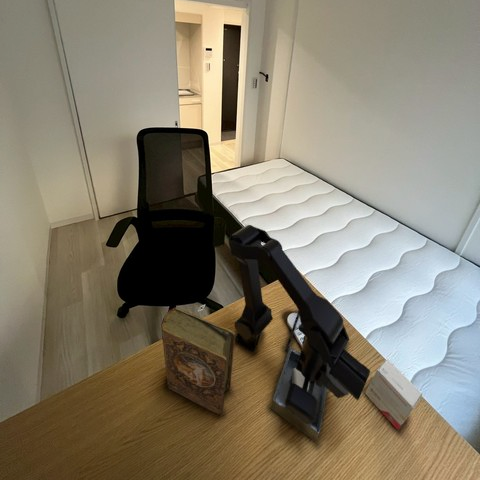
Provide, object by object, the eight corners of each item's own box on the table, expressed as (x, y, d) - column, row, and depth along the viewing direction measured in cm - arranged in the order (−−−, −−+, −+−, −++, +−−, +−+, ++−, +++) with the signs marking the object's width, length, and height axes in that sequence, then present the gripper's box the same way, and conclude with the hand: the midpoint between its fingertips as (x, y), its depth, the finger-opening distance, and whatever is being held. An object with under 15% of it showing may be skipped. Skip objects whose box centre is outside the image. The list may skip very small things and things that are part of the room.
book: (164, 385, 64) (157, 327, 53) (175, 362, 68) (171, 305, 58) (221, 416, 59) (226, 359, 49) (229, 389, 64) (236, 332, 53)
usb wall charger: (305, 377, 67) (308, 370, 65) (309, 411, 61) (312, 404, 59) (291, 375, 67) (293, 367, 66) (293, 408, 61) (295, 401, 59)
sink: (270, 408, 61) (272, 399, 59) (287, 355, 72) (289, 346, 70) (315, 441, 56) (319, 433, 55) (326, 380, 67) (330, 371, 65)
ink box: (406, 417, 62) (424, 394, 57) (396, 432, 59) (415, 409, 54) (373, 380, 68) (387, 357, 63) (363, 392, 65) (377, 369, 60)
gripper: (347, 426, 45) (328, 458, 52) (356, 333, 60) (341, 367, 67) (289, 387, 50) (279, 421, 56) (312, 310, 65) (301, 344, 71)
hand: (303, 386), depth 62 cm, fingers open, 9 cm apart
